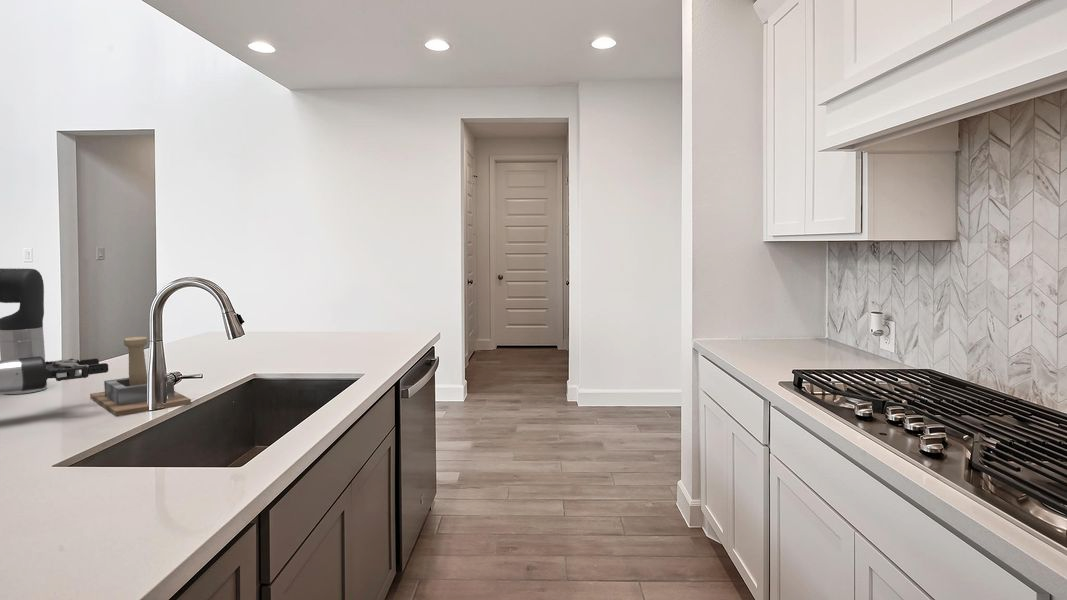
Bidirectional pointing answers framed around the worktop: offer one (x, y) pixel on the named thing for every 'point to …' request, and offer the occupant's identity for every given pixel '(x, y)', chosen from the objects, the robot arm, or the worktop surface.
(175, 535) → the worktop surface
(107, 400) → the wooden base with tray
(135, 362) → the handle
